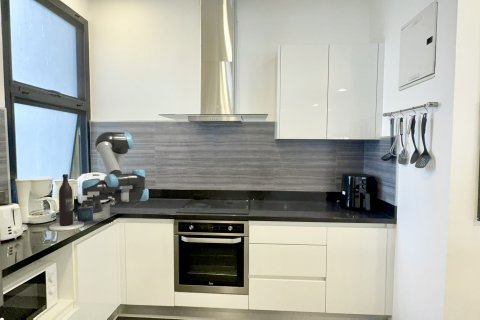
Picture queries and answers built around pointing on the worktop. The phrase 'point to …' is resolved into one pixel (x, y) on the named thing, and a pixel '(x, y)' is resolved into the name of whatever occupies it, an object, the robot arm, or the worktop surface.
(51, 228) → the ceramic dish
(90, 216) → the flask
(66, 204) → the wine bottle
